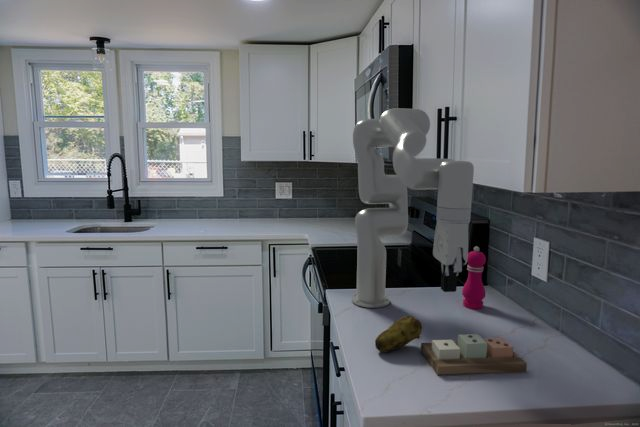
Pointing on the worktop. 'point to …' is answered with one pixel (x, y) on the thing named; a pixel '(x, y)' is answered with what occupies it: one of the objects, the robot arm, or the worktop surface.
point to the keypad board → (473, 364)
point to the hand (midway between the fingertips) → (448, 290)
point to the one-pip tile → (445, 349)
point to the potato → (399, 334)
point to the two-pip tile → (472, 346)
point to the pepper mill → (474, 280)
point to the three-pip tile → (498, 348)
